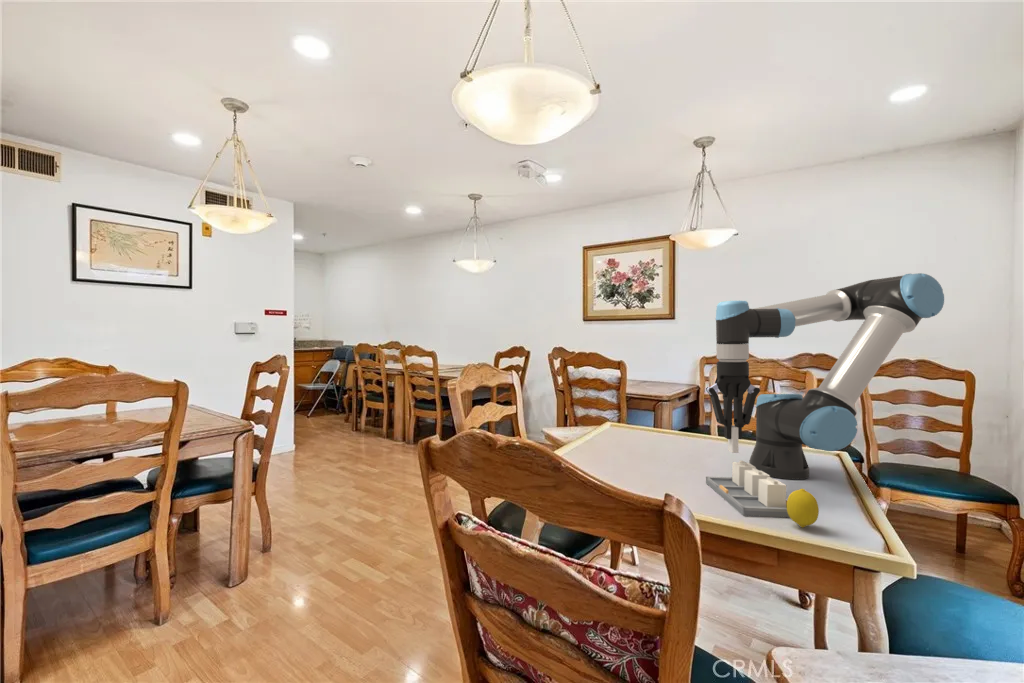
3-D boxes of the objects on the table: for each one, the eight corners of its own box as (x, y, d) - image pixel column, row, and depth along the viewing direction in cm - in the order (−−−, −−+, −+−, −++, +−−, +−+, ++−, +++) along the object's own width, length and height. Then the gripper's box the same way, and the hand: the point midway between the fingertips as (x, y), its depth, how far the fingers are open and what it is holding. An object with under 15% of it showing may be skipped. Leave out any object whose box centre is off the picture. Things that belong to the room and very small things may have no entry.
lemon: (808, 535, 86) (809, 495, 86) (780, 524, 91) (781, 486, 91) (824, 530, 89) (824, 490, 89) (796, 520, 94) (796, 482, 94)
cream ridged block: (761, 490, 108) (761, 468, 108) (769, 496, 104) (769, 473, 104) (744, 490, 108) (744, 467, 108) (752, 495, 104) (752, 472, 104)
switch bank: (748, 484, 117) (748, 475, 117) (795, 517, 95) (795, 506, 95) (705, 483, 118) (706, 473, 118) (743, 515, 96) (743, 504, 96)
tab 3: (776, 501, 101) (776, 476, 101) (785, 507, 97) (786, 482, 97) (758, 500, 101) (758, 476, 101) (767, 507, 97) (767, 481, 97)
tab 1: (748, 481, 115) (748, 460, 115) (755, 486, 111) (755, 464, 111) (732, 481, 115) (732, 459, 115) (739, 486, 111) (739, 464, 111)
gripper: (751, 359, 117) (752, 448, 117) (701, 360, 118) (702, 447, 118) (765, 361, 109) (766, 455, 109) (712, 361, 110) (713, 455, 110)
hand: (733, 451), depth 113 cm, fingers closed
